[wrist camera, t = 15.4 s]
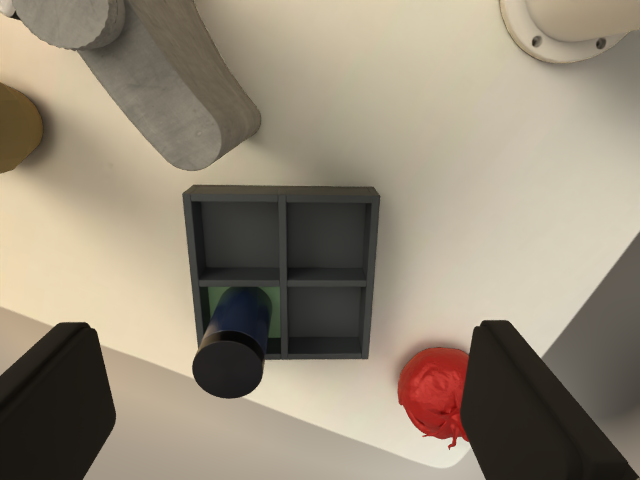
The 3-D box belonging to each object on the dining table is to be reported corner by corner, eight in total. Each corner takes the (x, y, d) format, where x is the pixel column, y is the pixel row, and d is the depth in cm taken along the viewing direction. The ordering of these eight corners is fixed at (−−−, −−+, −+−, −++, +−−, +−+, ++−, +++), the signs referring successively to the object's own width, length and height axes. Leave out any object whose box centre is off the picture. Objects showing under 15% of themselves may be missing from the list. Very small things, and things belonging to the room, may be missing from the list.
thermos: (272, 283, 40) (261, 340, 31) (273, 330, 42) (263, 398, 32) (216, 283, 40) (188, 341, 30) (220, 331, 42) (195, 399, 32)
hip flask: (267, 126, 35) (224, 160, 17) (228, 147, 36) (144, 203, 17) (165, -64, 30) (-63, -323, 12) (121, -36, 31) (-164, -242, 12)
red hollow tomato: (419, 321, 43) (448, 378, 34) (493, 354, 45) (539, 416, 36) (375, 388, 46) (392, 456, 37) (446, 416, 48) (478, 488, 39)
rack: (373, 186, 38) (380, 195, 34) (363, 338, 44) (368, 359, 40) (193, 184, 37) (182, 193, 34) (207, 339, 43) (199, 360, 39)
